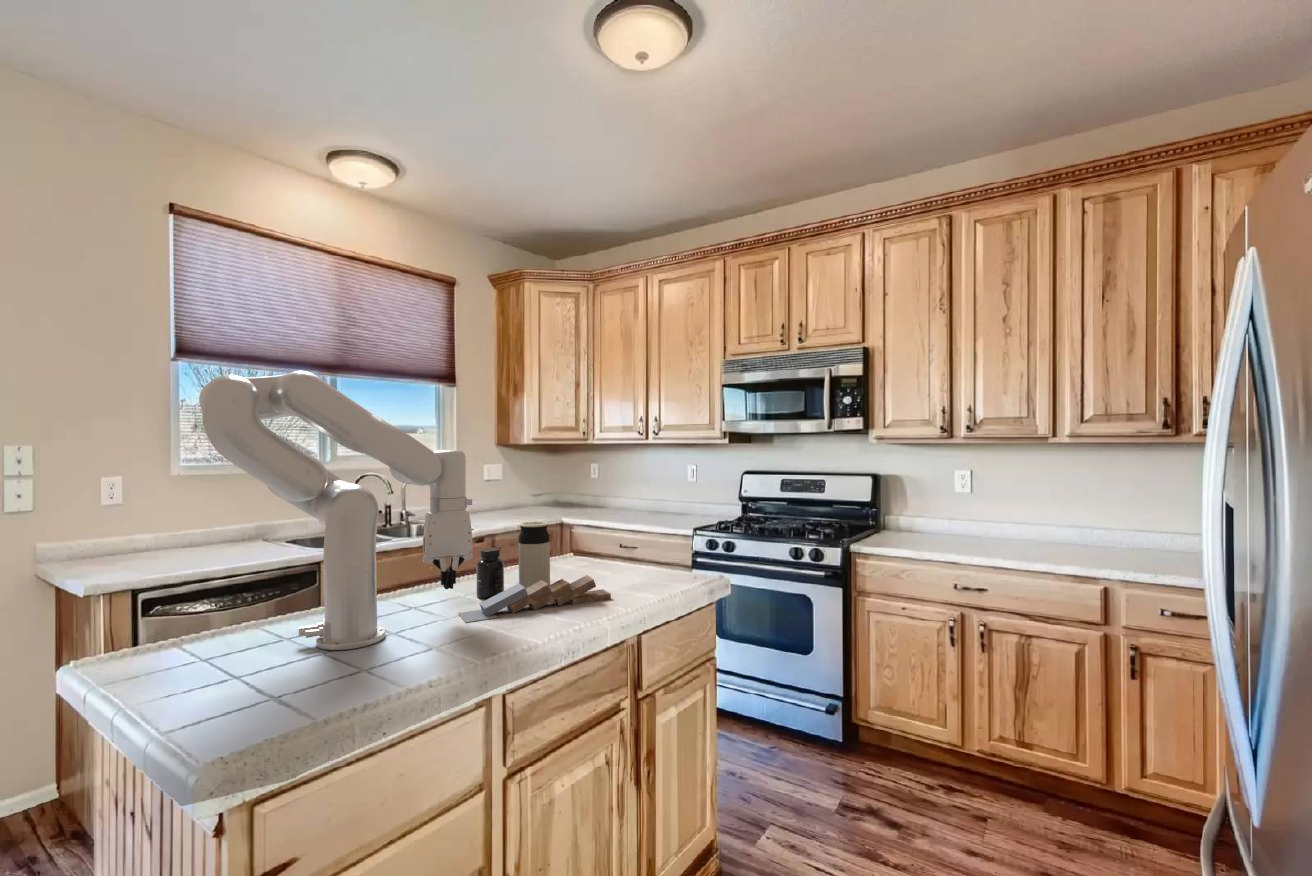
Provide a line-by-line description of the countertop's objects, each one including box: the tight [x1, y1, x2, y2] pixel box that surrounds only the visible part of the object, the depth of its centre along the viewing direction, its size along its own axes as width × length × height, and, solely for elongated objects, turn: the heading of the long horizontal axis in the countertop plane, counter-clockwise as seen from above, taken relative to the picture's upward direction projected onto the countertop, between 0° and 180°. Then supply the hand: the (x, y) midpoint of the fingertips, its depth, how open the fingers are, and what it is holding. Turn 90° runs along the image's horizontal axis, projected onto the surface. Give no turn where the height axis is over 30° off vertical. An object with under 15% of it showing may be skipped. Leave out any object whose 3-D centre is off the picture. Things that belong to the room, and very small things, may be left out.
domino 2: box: [506, 580, 551, 614], centre depth 148 cm, size 2×5×10 cm
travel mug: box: [517, 520, 551, 589], centre depth 163 cm, size 8×8×18 cm
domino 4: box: [553, 574, 597, 606], centre depth 153 cm, size 2×5×10 cm
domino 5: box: [567, 589, 612, 606], centre depth 155 cm, size 2×5×10 cm
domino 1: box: [479, 583, 528, 616], centre depth 145 cm, size 2×5×10 cm
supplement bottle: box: [475, 547, 505, 600], centre depth 160 cm, size 7×7×12 cm
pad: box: [457, 609, 498, 624], centre depth 142 cm, size 7×8×1 cm
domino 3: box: [527, 578, 572, 611], centre depth 151 cm, size 2×5×10 cm
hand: (448, 587), depth 139 cm, fingers closed
